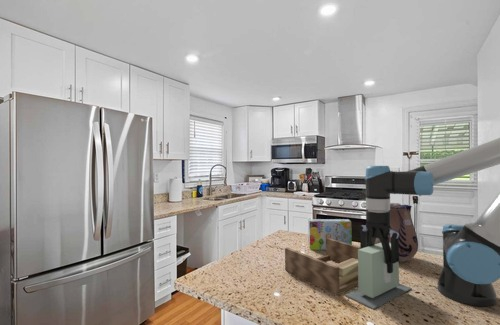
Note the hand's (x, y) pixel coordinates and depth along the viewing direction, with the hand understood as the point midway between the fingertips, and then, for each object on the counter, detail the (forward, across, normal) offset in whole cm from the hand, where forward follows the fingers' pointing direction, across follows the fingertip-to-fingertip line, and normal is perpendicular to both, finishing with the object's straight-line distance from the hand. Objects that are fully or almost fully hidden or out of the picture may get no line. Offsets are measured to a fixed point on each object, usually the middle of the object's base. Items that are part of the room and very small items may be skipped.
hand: (379, 278), depth 89 cm
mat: (+5, 0, 0) cm, 5 cm away
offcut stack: (+5, +12, 0) cm, 13 cm away
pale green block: (+3, 0, 0) cm, 3 cm away
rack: (+5, +20, 0) cm, 21 cm away
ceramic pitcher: (+5, +15, -36) cm, 39 cm away
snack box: (+5, +41, -24) cm, 48 cm away
